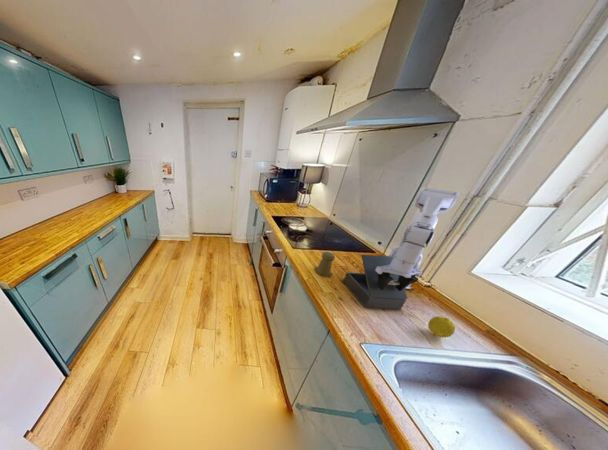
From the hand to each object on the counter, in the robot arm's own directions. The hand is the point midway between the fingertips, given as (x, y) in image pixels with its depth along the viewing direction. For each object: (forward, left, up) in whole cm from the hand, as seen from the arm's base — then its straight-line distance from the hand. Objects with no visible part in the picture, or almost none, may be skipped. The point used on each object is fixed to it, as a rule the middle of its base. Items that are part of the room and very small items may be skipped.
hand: (389, 288), depth 75 cm
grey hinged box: (0, -6, -9) cm, 11 cm away
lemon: (-10, +12, -9) cm, 18 cm away
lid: (0, -5, +2) cm, 5 cm away
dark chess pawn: (+13, -20, -9) cm, 26 cm away
